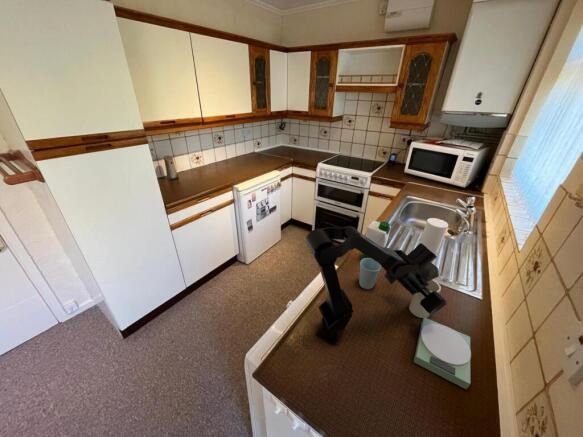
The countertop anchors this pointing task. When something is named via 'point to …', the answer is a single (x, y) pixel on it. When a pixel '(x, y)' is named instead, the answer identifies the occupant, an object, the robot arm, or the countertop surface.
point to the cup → (368, 272)
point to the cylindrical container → (434, 234)
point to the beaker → (417, 298)
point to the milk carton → (378, 234)
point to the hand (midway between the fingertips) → (426, 295)
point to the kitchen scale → (444, 352)
